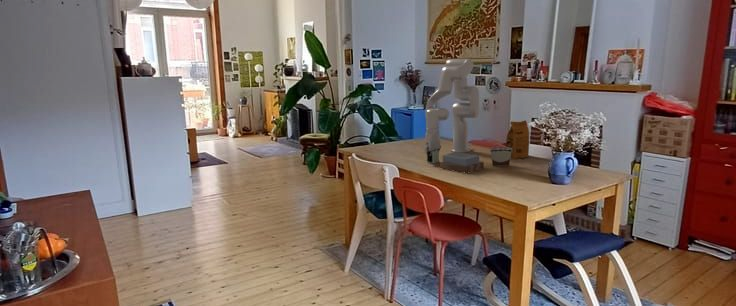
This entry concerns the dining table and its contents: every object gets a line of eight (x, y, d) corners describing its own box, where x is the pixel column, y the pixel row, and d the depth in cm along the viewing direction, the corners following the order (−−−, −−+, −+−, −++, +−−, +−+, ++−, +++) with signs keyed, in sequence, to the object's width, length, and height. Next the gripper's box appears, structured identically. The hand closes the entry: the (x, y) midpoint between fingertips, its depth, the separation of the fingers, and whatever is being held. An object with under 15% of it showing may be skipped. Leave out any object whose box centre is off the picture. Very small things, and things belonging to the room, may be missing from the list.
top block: (456, 158, 273) (456, 151, 273) (479, 162, 262) (479, 155, 261) (442, 162, 266) (442, 155, 265) (465, 166, 254) (466, 159, 253)
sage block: (432, 160, 285) (432, 149, 284) (438, 162, 281) (438, 150, 280) (426, 162, 282) (426, 150, 280) (433, 163, 278) (433, 151, 277)
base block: (456, 164, 276) (457, 157, 276) (483, 169, 264) (483, 162, 263) (439, 169, 266) (439, 162, 265) (466, 174, 253) (466, 167, 252)
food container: (510, 163, 272) (510, 146, 270) (512, 165, 266) (512, 148, 264) (488, 163, 273) (488, 146, 271) (489, 166, 267) (490, 148, 265)
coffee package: (503, 156, 291) (504, 120, 286) (521, 154, 294) (522, 119, 289) (512, 159, 281) (513, 122, 277) (530, 157, 284) (532, 121, 280)
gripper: (436, 128, 286) (436, 157, 290) (418, 131, 275) (418, 162, 278) (446, 129, 281) (446, 159, 284) (428, 133, 269) (428, 164, 273)
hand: (432, 160), depth 281 cm, fingers closed on sage block, 5 cm apart
